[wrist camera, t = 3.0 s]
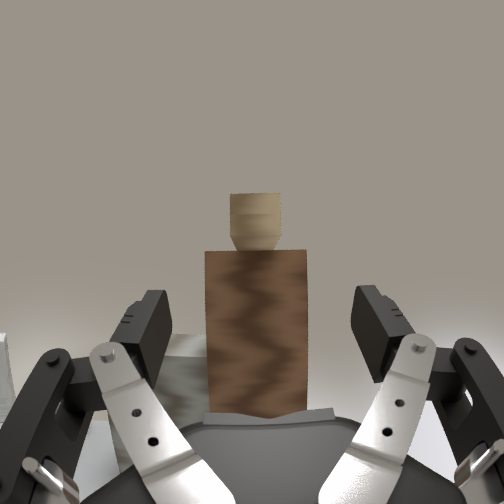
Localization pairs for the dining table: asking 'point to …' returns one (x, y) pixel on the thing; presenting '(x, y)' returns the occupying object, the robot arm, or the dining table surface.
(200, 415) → the step shelf
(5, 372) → the supplement box
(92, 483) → the dining table surface
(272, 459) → the robot arm
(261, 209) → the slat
